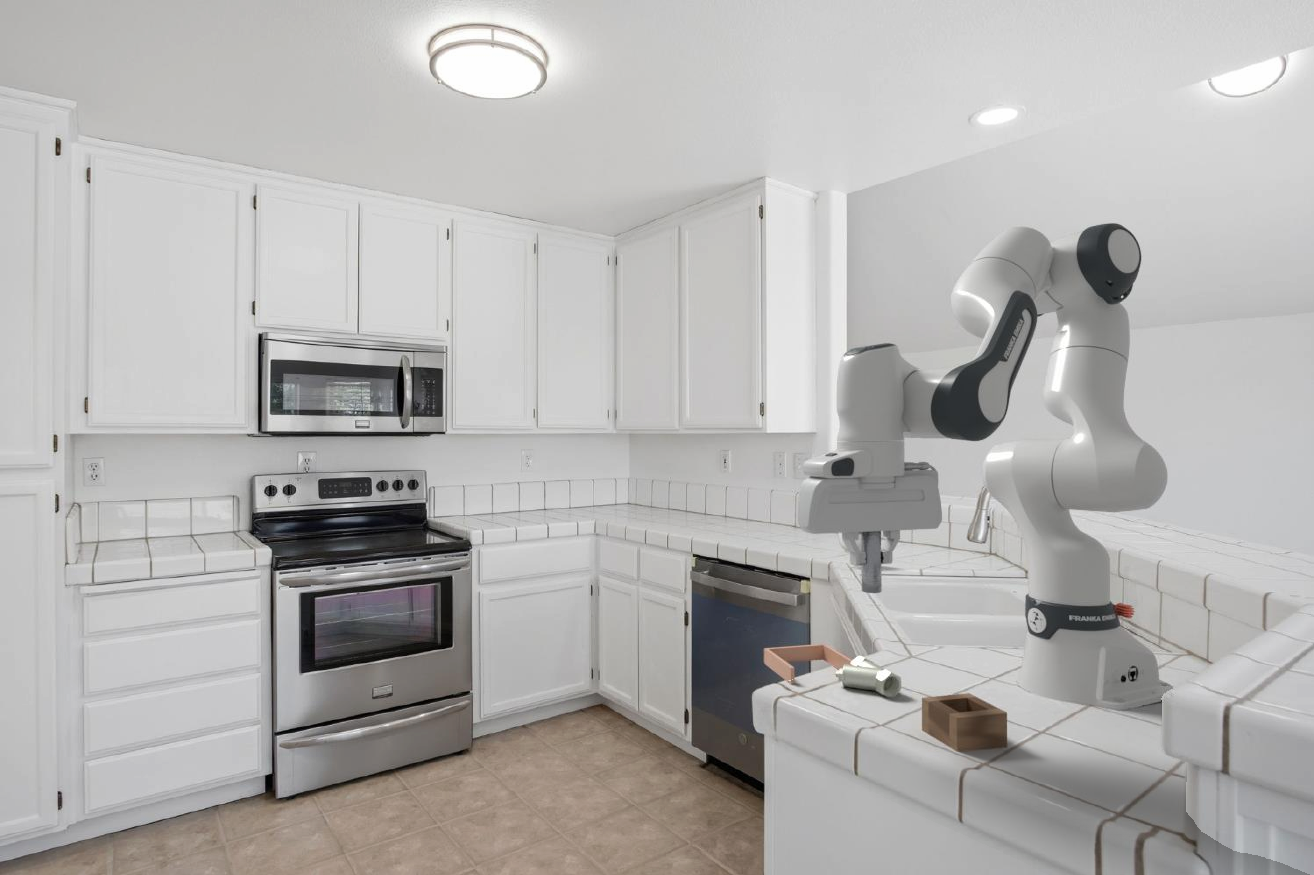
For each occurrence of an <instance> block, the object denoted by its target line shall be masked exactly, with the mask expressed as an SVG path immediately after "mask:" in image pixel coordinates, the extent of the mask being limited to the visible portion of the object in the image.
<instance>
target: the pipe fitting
mask: <svg viewBox="0 0 1314 875" xmlns="http://www.w3.org/2000/svg"><path fill="white" fill-rule="evenodd" d="M852 660H853V661H852V662H851V664H850V665H848V664H844V666H843V669H838V670H837V671H835V678H838V681H840V682H841V683H842V686H843V687H845V688H851V689H852V688H854V689H859V690H860V689H861V690H866V691H874V692H878V693H879V694H880V695H883V696H885V697H887V698H894V697H896V696H897V695H898V694H899V693H900V692H901V690H902V678H901V676H899V675H898V674H895V673H894V672H892V671H890V670H887V669H886V668H883V667H881V666H880V665H878V664H876V663H874V662H873V661H871V660H870V659H868V658H867V657H864V656H861V655H858V656H856V657H855V658H854V659H852Z"/></svg>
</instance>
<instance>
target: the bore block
mask: <svg viewBox="0 0 1314 875" xmlns="http://www.w3.org/2000/svg"><path fill="white" fill-rule="evenodd" d="M921 731H922V732H924V733H925V734H927V735H929V736H931V737H933V739H936V740H937V741H939V742H941V743H942V744H944V746H945V745H946V746H947V747H949V748H950V749H952V750H954V751H955V752H966V751H967V752H968V751H979V750H981V751H982V750H991V749H1005V748H1008V712H1006V711H1005V710H1003V709H1001V708H999V707H997V706H995V705H993V704H991V703H989V702H988V701H985V700H984V699H981V698H980V697H977V696H975V695H974V694H972V693H969V692H966V693H959V694H949V695H948V694H946V695H937V696H927V697H926V696H925V697H922V698H921Z"/></svg>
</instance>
